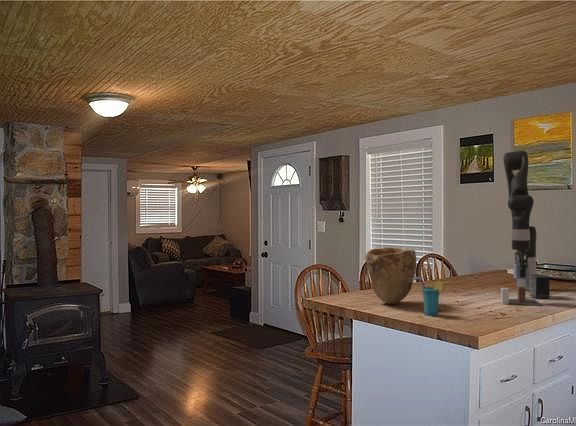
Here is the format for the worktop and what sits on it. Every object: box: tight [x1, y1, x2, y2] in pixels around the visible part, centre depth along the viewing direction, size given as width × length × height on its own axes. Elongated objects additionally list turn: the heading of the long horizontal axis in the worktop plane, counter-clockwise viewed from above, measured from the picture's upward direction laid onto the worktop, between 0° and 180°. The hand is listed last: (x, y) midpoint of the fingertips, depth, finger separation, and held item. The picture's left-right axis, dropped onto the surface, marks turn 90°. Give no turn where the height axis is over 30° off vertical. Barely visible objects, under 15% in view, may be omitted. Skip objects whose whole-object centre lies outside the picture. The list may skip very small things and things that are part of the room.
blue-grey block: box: [513, 262, 529, 280], centre depth 229 cm, size 5×5×7 cm
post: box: [500, 287, 510, 306], centre depth 227 cm, size 3×3×7 cm
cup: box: [412, 276, 445, 317], centre depth 206 cm, size 14×8×15 cm, turn 53°
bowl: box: [364, 246, 417, 305], centre depth 230 cm, size 22×22×25 cm
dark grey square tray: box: [508, 287, 544, 307], centre depth 229 cm, size 14×14×7 cm
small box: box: [529, 274, 550, 300], centre depth 242 cm, size 11×6×10 cm, turn 168°
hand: (521, 276), depth 229 cm, fingers closed on blue-grey block, 5 cm apart
